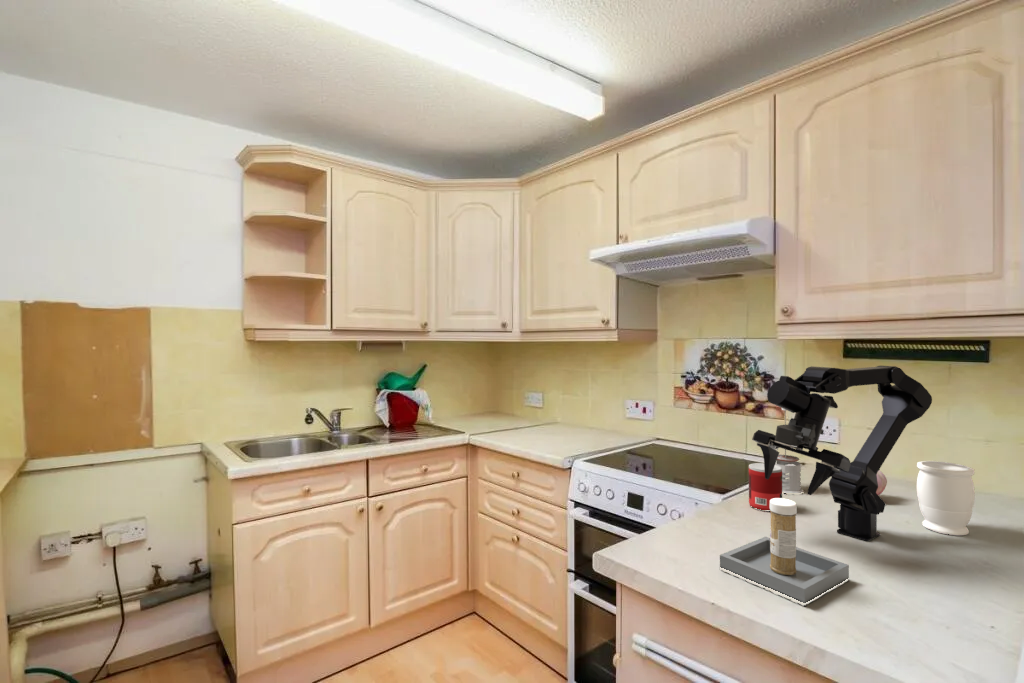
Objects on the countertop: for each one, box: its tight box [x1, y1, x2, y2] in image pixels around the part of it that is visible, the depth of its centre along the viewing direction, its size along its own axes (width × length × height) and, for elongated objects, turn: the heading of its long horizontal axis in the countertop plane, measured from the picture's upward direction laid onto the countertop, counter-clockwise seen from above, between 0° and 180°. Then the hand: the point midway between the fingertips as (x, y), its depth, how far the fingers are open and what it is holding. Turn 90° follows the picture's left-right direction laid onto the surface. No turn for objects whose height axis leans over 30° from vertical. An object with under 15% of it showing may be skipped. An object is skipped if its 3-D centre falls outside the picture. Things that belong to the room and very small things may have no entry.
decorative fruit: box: [876, 468, 888, 496], centre depth 139 cm, size 9×8×10 cm
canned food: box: [748, 462, 783, 510], centre depth 133 cm, size 8×8×11 cm
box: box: [719, 536, 850, 603], centre depth 95 cm, size 16×16×3 cm
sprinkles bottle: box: [769, 497, 798, 575], centre depth 95 cm, size 5×5×14 cm
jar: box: [916, 460, 976, 536], centre depth 117 cm, size 11×10×15 cm
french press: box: [775, 408, 804, 493], centre depth 149 cm, size 10×12×25 cm
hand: (787, 486), depth 110 cm, fingers open, 9 cm apart
